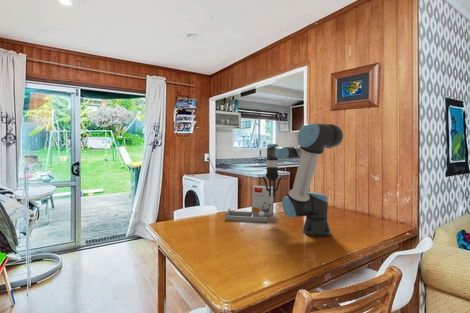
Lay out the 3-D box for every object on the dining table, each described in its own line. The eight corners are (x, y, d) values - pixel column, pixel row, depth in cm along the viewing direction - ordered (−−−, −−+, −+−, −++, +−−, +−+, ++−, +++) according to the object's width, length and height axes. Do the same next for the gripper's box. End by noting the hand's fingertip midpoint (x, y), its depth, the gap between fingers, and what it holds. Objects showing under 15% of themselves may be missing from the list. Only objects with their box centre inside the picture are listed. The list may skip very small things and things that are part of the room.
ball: (264, 216, 177) (264, 210, 177) (264, 217, 173) (264, 211, 173) (258, 215, 178) (258, 210, 178) (258, 217, 174) (258, 211, 174)
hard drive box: (251, 213, 191) (251, 186, 190) (253, 210, 198) (253, 185, 198) (272, 215, 187) (272, 187, 186) (273, 212, 194) (274, 186, 193)
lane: (267, 216, 182) (267, 209, 182) (267, 222, 168) (267, 214, 168) (228, 214, 186) (228, 208, 186) (225, 220, 173) (225, 213, 172)
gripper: (282, 166, 176) (281, 200, 177) (262, 165, 178) (262, 199, 179) (282, 167, 169) (281, 202, 170) (262, 166, 171) (261, 201, 172)
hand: (271, 201), depth 175 cm, fingers closed
